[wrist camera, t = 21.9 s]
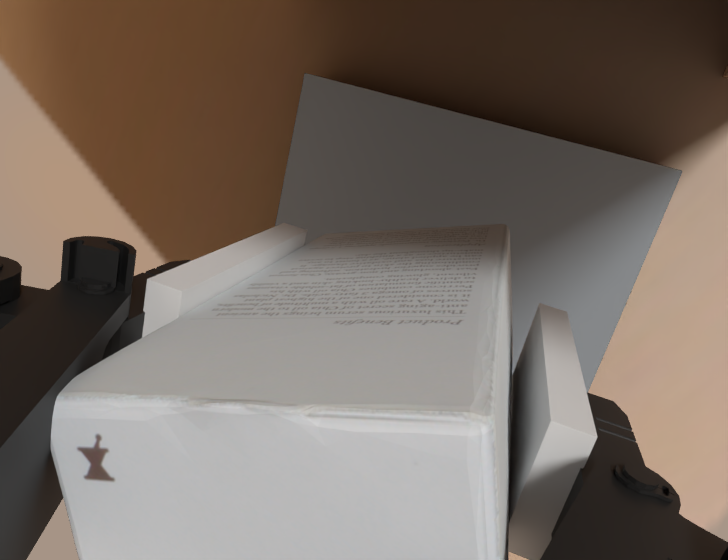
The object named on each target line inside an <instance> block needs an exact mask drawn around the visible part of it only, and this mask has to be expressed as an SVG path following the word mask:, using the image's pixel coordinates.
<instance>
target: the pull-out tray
mask: <svg viewBox="0 0 728 560" xmlns="http://www.w3.org/2000/svg"><path fill="white" fill-rule="evenodd" d="M681 174H682V171H681V170H677V169H674V168H670V167H667V166H663V165H659V164H655V163H651V162H647V161H643V160H640V159H636V158H632V157H628V156H624V155H620V154H616V153H613V152H609V151H605V150H601V149H597V148H593V147H589V146H586V145H582V144H578V143H574V142H570V141H566V140H562V139H559V138H555V137H551V136H547V135H543V134H539V133H535V132H532V131H528V130H524V129H520V128H516V127H512V126H508V125H505V124H501V123H497V122H493V121H489V120H485V119H481V118H478V117H474V116H470V115H466V114H462V113H458V112H454V111H451V110H447V109H443V108H439V107H435V106H431V105H427V104H424V103H420V102H416V101H412V100H408V99H404V98H400V97H397V96H393V95H389V94H385V93H381V92H377V91H373V90H370V89H366V88H362V87H358V86H354V85H350V84H346V83H343V82H339V81H335V80H331V79H327V78H323V77H319V76H315V75H311V74H307V73H305V74H304V80H303V85H302V90H301V95H300V100H299V105H298V110H297V116H296V121H295V126H294V131H293V136H292V141H291V146H290V152H289V157H288V162H287V167H286V172H285V177H284V182H283V188H282V193H281V198H280V203H279V208H278V213H277V218H276V224H275V226H277V225H280V224H282V223H286V224H289V225H293V226H296V227H299V228H302V229H305V230H307V234H306V238H305V243H304V246H305V245H306V244H308V243H310V242H312V241H313V240H315V239H317V238H319V237H320V236H322V235H324V234H329V233H349V232H366V231H382V230H401V229H418V228H438V227H456V226H475V225H494V224H505V225H507V226H508V228H509V232H510V256H511V287H512V331H513V362H512V375H513V372H514V370H515V367H516V364H517V362H518V359H519V356H520V354H521V351H522V348H523V345H524V343H525V340H526V337H527V335H528V332H529V329H530V327H531V324H532V321H533V319H534V316H535V313H536V311H537V308H538V305H539V303H541V304H544V305H547V306H551V307H554V308H557V309H560V310H563V311H567V314H568V318H569V322H570V326H571V330H572V334H573V338H574V342H575V346H576V351H577V355H578V359H579V363H580V367H581V371H582V375H583V379H584V383H585V388H586V392H587V393H588V391H589V388H590V386H591V384H592V381H593V379H594V377H595V374H596V372H597V370H598V367H599V365H600V363H601V360H602V358H603V356H604V353H605V351H606V349H607V346H608V344H609V342H610V339H611V337H612V335H613V332H614V330H615V328H616V325H617V323H618V321H619V318H620V316H621V314H622V311H623V309H624V307H625V304H626V302H627V300H628V297H629V295H630V293H631V290H632V288H633V286H634V283H635V281H636V279H637V276H638V274H639V272H640V269H641V267H642V265H643V262H644V260H645V258H646V255H647V253H648V251H649V248H650V246H651V244H652V241H653V239H654V237H655V234H656V232H657V230H658V227H659V225H660V223H661V220H662V218H663V216H664V213H665V211H666V209H667V206H668V204H669V202H670V199H671V197H672V195H673V192H674V190H675V188H676V185H677V183H678V181H679V178H680V176H681Z"/></svg>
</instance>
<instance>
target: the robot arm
mask: <svg viewBox="0 0 728 560" xmlns="http://www.w3.org/2000/svg"><path fill="white" fill-rule="evenodd" d="M306 234H307V230H305V229H302V228H299V227H296V226H293V225H289V224H286V223H282V224H280V225H277V226H275V227H272V228H270V229H268V230H265V231H263V232H260V233H258V234H255V235H253V236H251V237H248V238H246V239H243V240H241V241H238V242H236V243H234V244H231V245H229V246H226V247H224V248H221V249H219V250H217V251H214V252H212V253H209V254H207V255H204V256H202V257H200V258H197V259H195V260H192V261H191V260H183V261H174V262H169V263H166V264H164V265H161V266H159V267H157V268H156V269H155V268H154V269H151V270H149V271H146V273H141V274H138V275H136V276H134V266H135V258H136V250H135V249H134V247H133V246H131V245H129V244H127V243H125V242H122V241H119V240H115V239H111V238H103V237H91V236H83V237H74V238H70V239H67V240H65V241H63V255H62V270H61V281H60V282H59V283H57V284H56V285H55V286H54V287H52V288H51V289H50V290H45V289H39V288H35V287H29V286H24V285H21V271H22V267H21V265H20V264H19V263H18V262H16V261H14V260H12V259H9V258H6V257H1V256H0V560H26V559H27V557H28V556H29V554H30V552H31V551H32V549H33V547H34V546H35V544H36V542H37V541H38V539H39V537H40V536H41V534H42V532H43V531H44V529H45V527H46V526H47V524H48V522H49V521H50V519H51V517H52V515H53V514H54V512H55V510H56V509H57V507H58V505H59V504H60V502H61V500H62V499H63V494H62V490H61V487H60V483H59V479H58V475H57V472H56V468H55V464H54V461H53V457H52V453H51V428H52V417H53V411H54V405H55V401H56V398H57V396H58V395H59V393H60V392H61V391H62V390H63V389H64V388H65V386H66V385H67V384H68V383H69V382H70V381H71V380H72V379H73V378H74V377H76V376H77V375H79V374H80V373H82V372H84V371H85V370H87V369H89V368H90V367H92V366H94V365H95V364H97V363H99V362H100V361H102V360H104V359H106V358H107V357H109V356H111V355H112V354H114V353H116V352H118V351H119V350H121V349H123V348H125V347H127V346H128V345H130V344H132V343H134V342H136V341H137V340H139V339H141V338H143V337H145V336H146V335H148V334H150V333H152V332H154V331H155V330H157V329H159V328H161V327H163V326H164V325H166V324H168V323H170V322H172V321H173V320H175V319H177V318H179V317H180V316H182V315H184V314H186V313H187V312H189V311H191V310H193V309H194V308H196V307H198V306H200V305H201V304H203V303H205V302H207V301H208V300H210V299H211V298H213V297H215V296H217V295H219V294H221V293H222V292H224V291H226V290H228V289H230V288H231V287H233V286H235V285H236V284H238V283H240V282H242V281H244V280H245V279H247V278H249V277H251V276H252V275H254V274H256V273H258V272H259V271H261V270H263V269H264V268H266V267H268V266H270V265H272V264H273V263H275V262H276V261H278V260H280V259H282V258H283V257H285V256H287V255H289V254H290V253H292V252H294V251H296V250H297V249H299V248H301V247H303V246H304V243H305V238H306ZM635 441H636V439H635V436H634V433H633V432H632V428H631V425H630V422H629V420H628V417H627V415H626V414H625V413H624V412H623V411H622V410H621V409H620V408H619V407H618V406H617V405H616V404H615V403H614V401H611V400H608V399H605V398H602V397H599V396H596V395H593V394H590V393H587V392H586V388H585V383H584V379H583V375H582V371H581V367H580V363H579V359H578V355H577V351H576V346H575V342H574V338H573V334H572V330H571V326H570V322H569V318H568V314H567V311H563V310H560V309H557V308H554V307H551V306H547V305H544V304H541V303H539V305H538V308H537V311H536V313H535V316H534V319H533V321H532V324H531V327H530V329H529V332H528V335H527V337H526V340H525V343H524V345H523V348H522V351H521V354H520V356H519V359H518V362H517V364H516V367H515V370H514V372H513V375H512V397H511V434H510V483H509V544H508V551H509V552H512V553H514V554H517V555H519V556H522V557H524V558H527V559H529V560H728V542H726V541H724V540H723V539H721V538H719V537H717V536H715V535H713V534H711V533H710V532H708V531H706V530H704V529H702V528H701V527H699V526H697V525H695V524H694V523H692V522H690V521H689V520H687V519H685V518H684V517H683V516H681V515H680V514H679V510H680V506H681V504H680V498H679V495H678V494H677V493H676V491H675V490H674V488H673V487H672V486H671V485H670V484H669V483H668V482H667V481H666V480H664V479H663V478H662V477H661V476H660V475H659V474H657V473H655V472H654V471H652V470H650V469H649V468H647V467H646V466H645V464H644V461H643V458H642V455H641V453H640V450H639V447H638V444H637V443H636V442H635Z"/></svg>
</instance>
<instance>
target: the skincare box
mask: <svg viewBox="0 0 728 560" xmlns="http://www.w3.org/2000/svg"><path fill="white" fill-rule="evenodd" d="M512 362H513V331H512V287H511V256H510V232H509V228H508V226H507V225H505V224H494V225H475V226H456V227H438V228H418V229H401V230H382V231H366V232H349V233H329V234H324V235H322V236H320V237H319V238H317V239H315V240H313V241H312V242H310V243H308V244H306V245H305V246H303V247H301V248H299V249H297V250H296V251H294V252H292V253H290V254H289V255H287V256H285V257H283V258H282V259H280V260H278V261H276V262H275V263H273V264H272V265H270V266H268V267H266V268H264V269H263V270H261V271H259V272H258V273H256V274H254V275H252V276H251V277H249V278H247V279H245V280H244V281H242V282H240V283H238V284H236V285H235V286H233V287H231V288H230V289H228V290H226V291H224V292H222V293H221V294H219V295H217V296H215V297H213V298H211V299H210V300H208V301H207V302H205V303H203V304H201V305H200V306H198V307H196V308H194V309H193V310H191V311H189V312H187V313H186V314H184V315H182V316H180V317H179V318H177V319H175V320H173V321H172V322H170V323H168V324H166V325H164V326H163V327H161V328H159V329H157V330H155V331H154V332H152V333H150V334H148V335H146V336H145V337H143V338H141V339H139V340H137V341H136V342H134V343H132V344H130V345H128V346H127V347H125V348H123V349H121V350H119V351H118V352H116V353H114V354H112V355H111V356H109V357H107V358H106V359H104V360H102V361H100V362H99V363H97V364H95V365H94V366H92V367H90V368H89V369H87V370H85V371H84V372H82V373H80V374H79V375H77V376H76V377H74V378H73V379H72V380H71V381H70V382H69V383H68V384H67V385H66V386H65V388H64V389H63V390H62V391H61V392H60V393H59V395H58V396H57V398H56V401H55V405H54V411H53V417H52V428H51V453H52V457H53V461H54V464H55V468H56V472H57V475H58V479H59V483H60V487H61V490H62V494H63V498H64V502H65V506H66V509H67V513H68V517H69V521H70V525H71V529H72V533H73V537H74V542H75V546H76V550H77V553H78V556H79V560H508V544H509V483H510V434H511V397H512Z"/></svg>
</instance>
